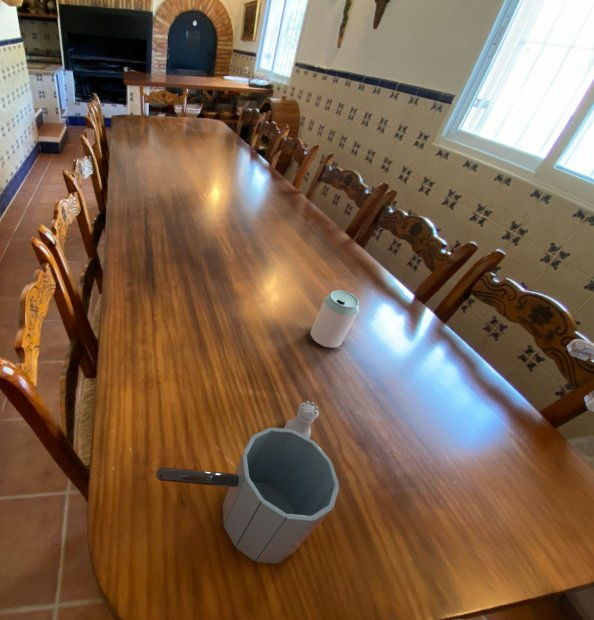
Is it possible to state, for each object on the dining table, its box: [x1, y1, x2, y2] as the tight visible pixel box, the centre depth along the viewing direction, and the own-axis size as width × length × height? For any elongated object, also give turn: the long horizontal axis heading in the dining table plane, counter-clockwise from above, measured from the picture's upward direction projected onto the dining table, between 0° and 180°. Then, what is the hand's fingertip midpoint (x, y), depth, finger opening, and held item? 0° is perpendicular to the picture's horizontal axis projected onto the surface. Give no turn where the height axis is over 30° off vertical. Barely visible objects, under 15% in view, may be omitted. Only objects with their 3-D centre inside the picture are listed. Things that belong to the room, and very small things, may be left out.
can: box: [310, 290, 360, 349], centre depth 79 cm, size 7×7×12 cm
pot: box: [155, 427, 340, 565], centre depth 47 cm, size 21×11×15 cm, turn 87°
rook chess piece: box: [283, 400, 320, 439], centre depth 61 cm, size 4×4×8 cm
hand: (579, 370), depth 40 cm, fingers open, 8 cm apart
